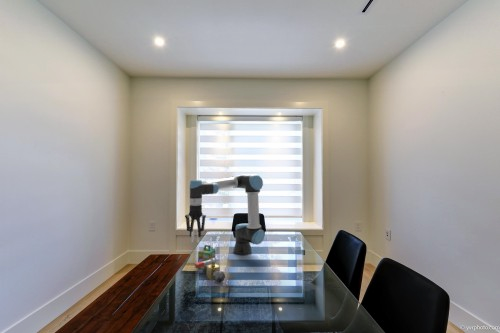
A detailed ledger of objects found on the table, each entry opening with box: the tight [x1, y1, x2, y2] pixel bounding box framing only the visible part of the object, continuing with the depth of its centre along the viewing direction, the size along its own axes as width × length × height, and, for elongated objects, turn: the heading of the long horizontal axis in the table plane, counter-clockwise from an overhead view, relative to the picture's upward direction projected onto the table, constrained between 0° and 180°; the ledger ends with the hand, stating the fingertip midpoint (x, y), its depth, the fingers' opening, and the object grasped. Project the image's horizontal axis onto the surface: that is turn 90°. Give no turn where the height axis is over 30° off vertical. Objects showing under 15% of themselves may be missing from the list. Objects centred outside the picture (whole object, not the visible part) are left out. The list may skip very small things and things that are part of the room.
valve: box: [201, 263, 226, 284], centre depth 141 cm, size 18×6×9 cm, turn 39°
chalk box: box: [197, 244, 216, 270], centre depth 156 cm, size 9×9×15 cm
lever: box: [194, 257, 217, 269], centre depth 138 cm, size 14×4×2 cm, turn 129°
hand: (195, 242), depth 140 cm, fingers open, 3 cm apart
